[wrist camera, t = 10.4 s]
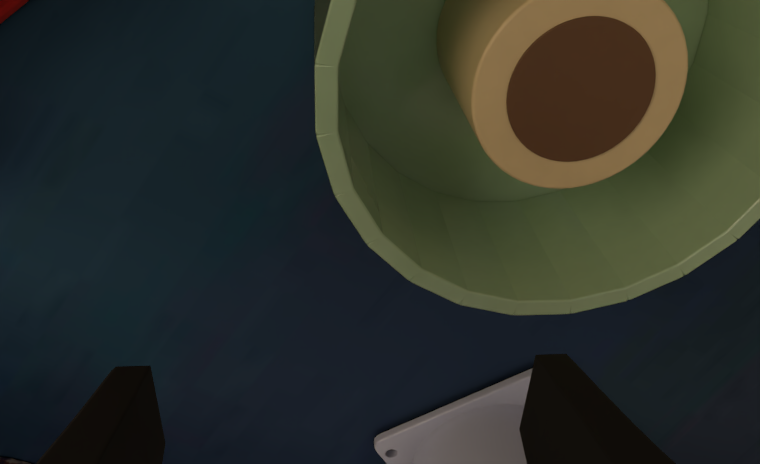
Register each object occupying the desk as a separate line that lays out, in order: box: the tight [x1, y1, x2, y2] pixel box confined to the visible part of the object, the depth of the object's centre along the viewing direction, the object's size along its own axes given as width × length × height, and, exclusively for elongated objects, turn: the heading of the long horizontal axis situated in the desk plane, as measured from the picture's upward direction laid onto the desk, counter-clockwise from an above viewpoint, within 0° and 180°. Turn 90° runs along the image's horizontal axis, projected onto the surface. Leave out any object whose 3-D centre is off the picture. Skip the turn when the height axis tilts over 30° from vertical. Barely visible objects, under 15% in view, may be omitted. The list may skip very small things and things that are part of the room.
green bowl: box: [314, 0, 760, 315], centre depth 17 cm, size 12×12×6 cm
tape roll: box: [436, 0, 688, 189], centre depth 17 cm, size 5×5×5 cm
